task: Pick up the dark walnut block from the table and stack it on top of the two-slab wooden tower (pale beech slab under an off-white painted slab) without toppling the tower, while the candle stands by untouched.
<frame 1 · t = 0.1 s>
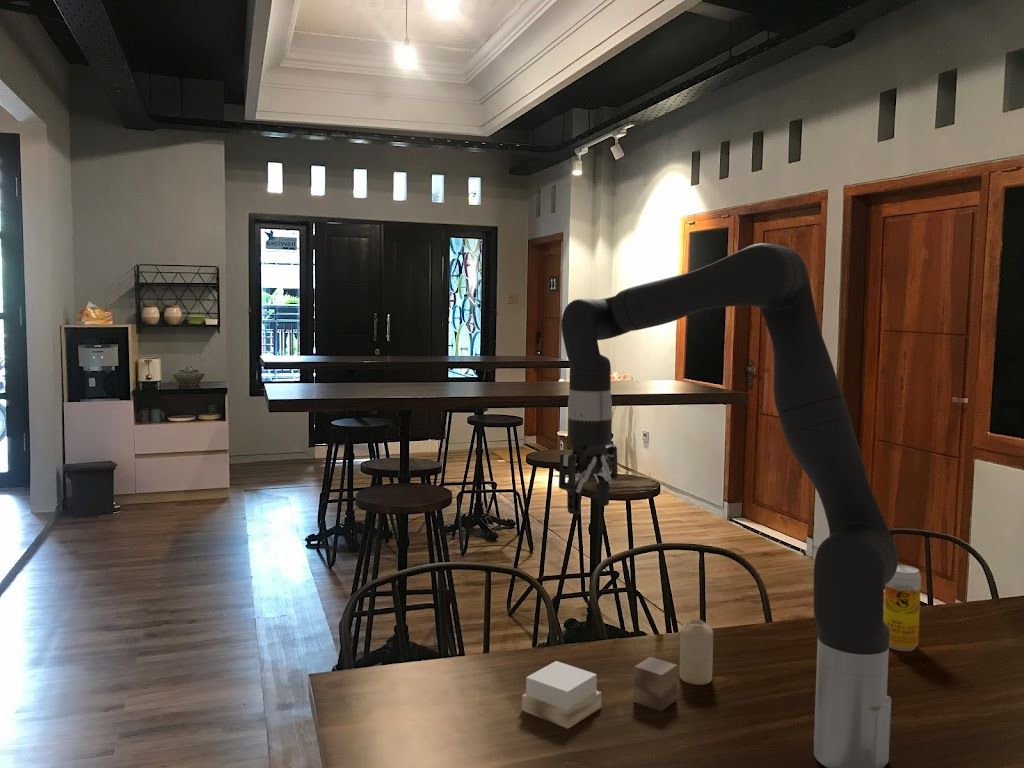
hand: (588, 509, 144), 29 cm above the table, tool pointing down, fingers open, 8 cm apart
walnut block: (655, 701, 135), on the table
slab upper: (561, 693, 132), point 2 cm above the table, touching slab lower
beer can: (900, 646, 158), on the table
slab lower: (561, 711, 133), on the table, touching slab upper
candle: (695, 679, 144), on the table
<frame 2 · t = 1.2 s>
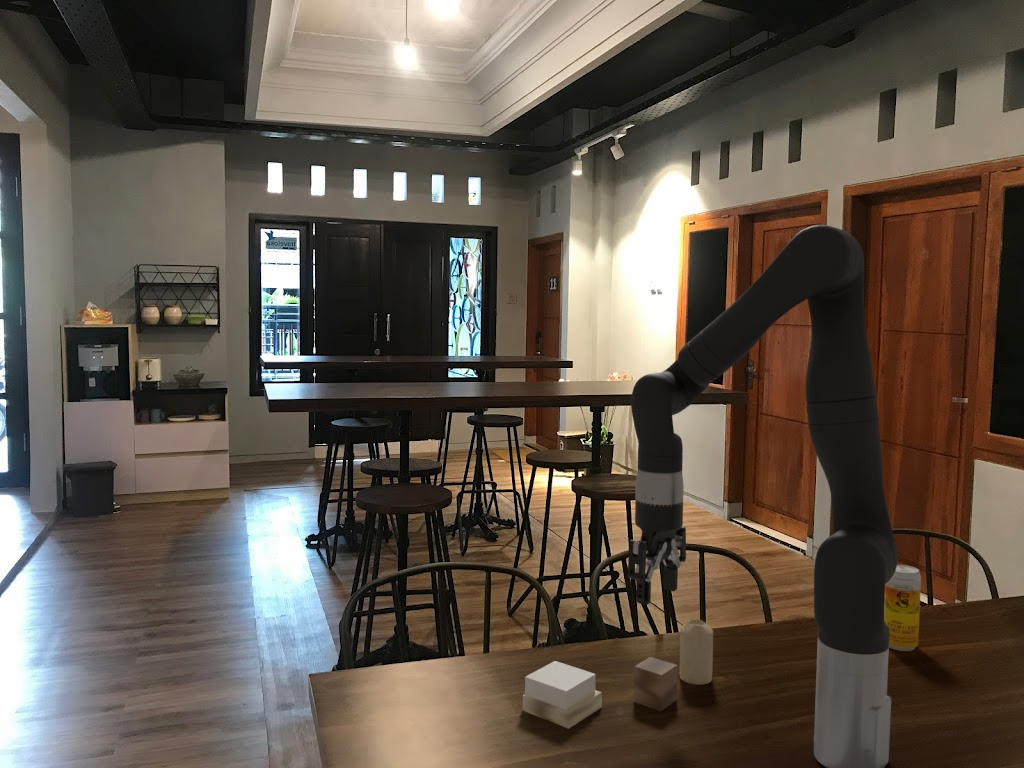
hand: (657, 596, 134), 17 cm above the table, tool pointing down, fingers open, 8 cm apart
nothing on the table moved.
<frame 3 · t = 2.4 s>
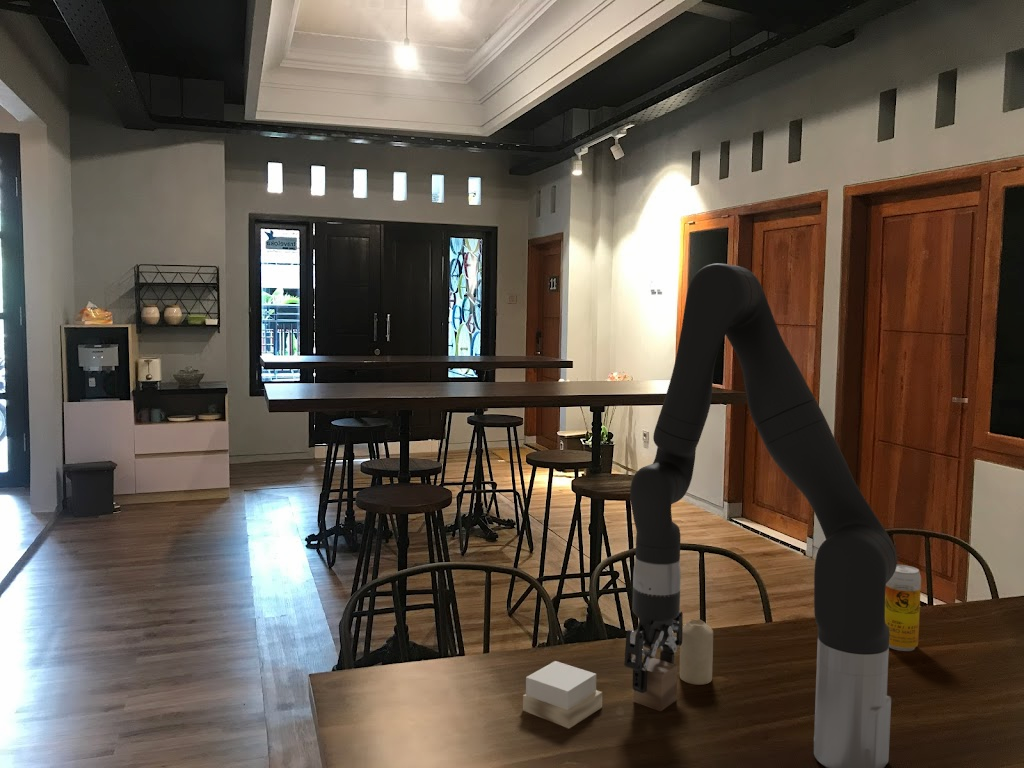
hand: (653, 682, 135), 3 cm above the table, tool pointing down, fingers open, 8 cm apart
nothing on the table moved.
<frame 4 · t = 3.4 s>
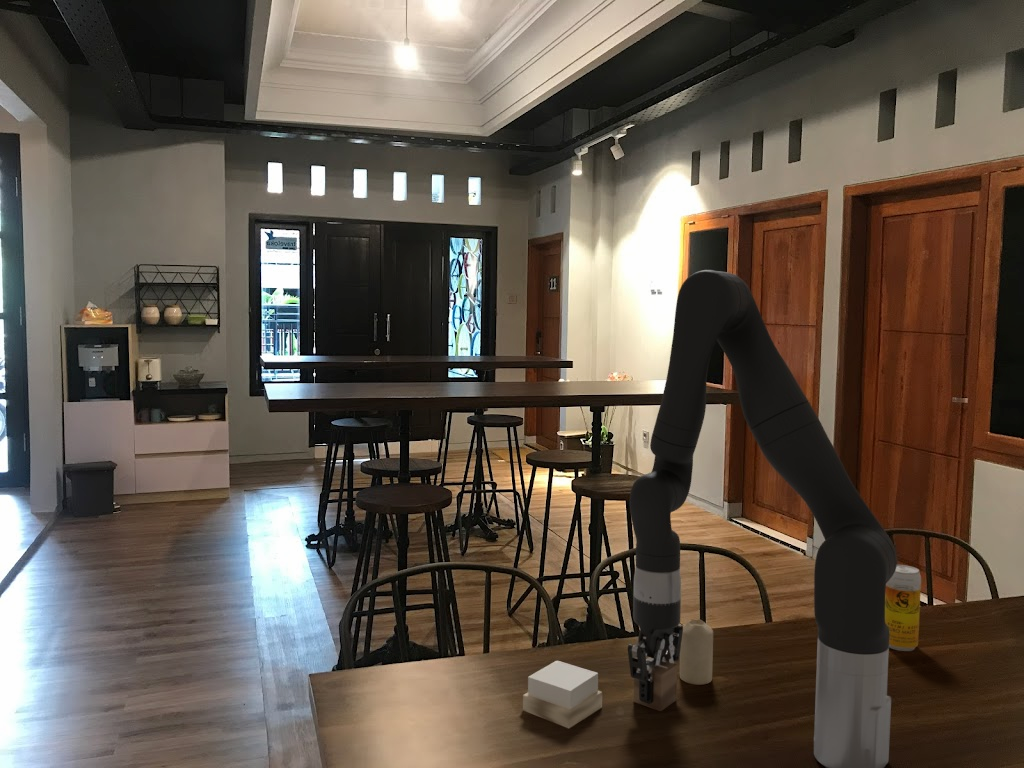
hand: (655, 695, 135), 1 cm above the table, tool pointing down, fingers closed on walnut block, 5 cm apart
walnut block: (655, 701, 135), on the table, touching gripper
everything else where it was.
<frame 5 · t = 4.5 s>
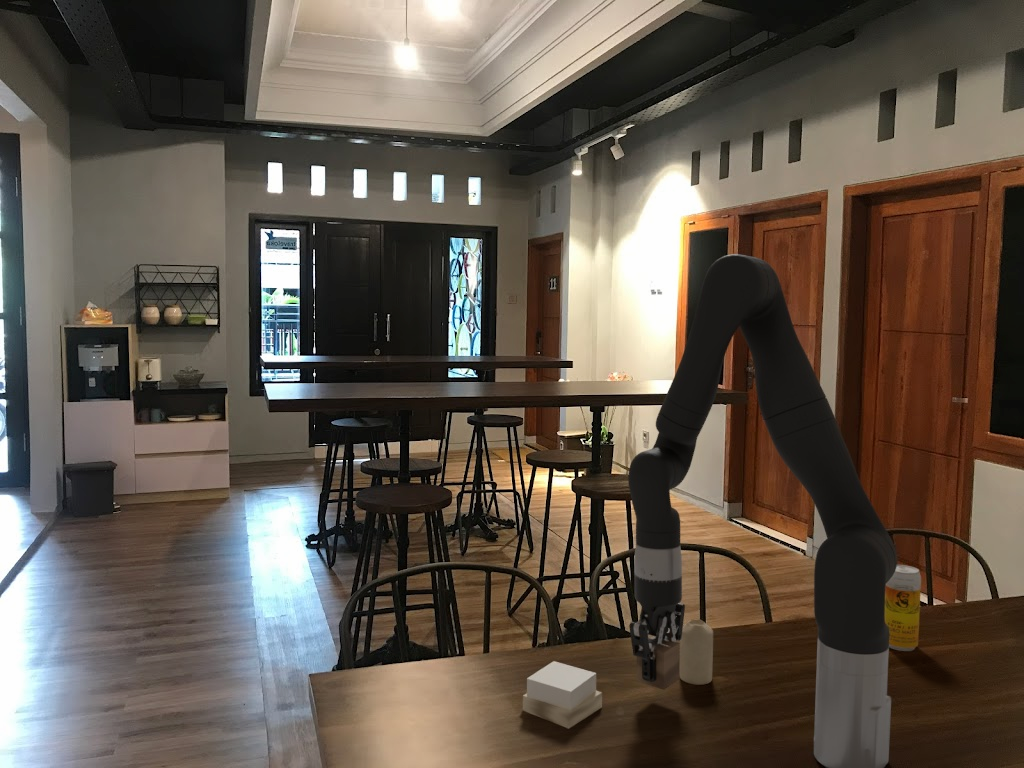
hand: (658, 674, 135), 5 cm above the table, tool pointing down, fingers closed on walnut block, 5 cm apart
walnut block: (658, 680, 135), point 4 cm above the table, touching gripper
everything else where it was.
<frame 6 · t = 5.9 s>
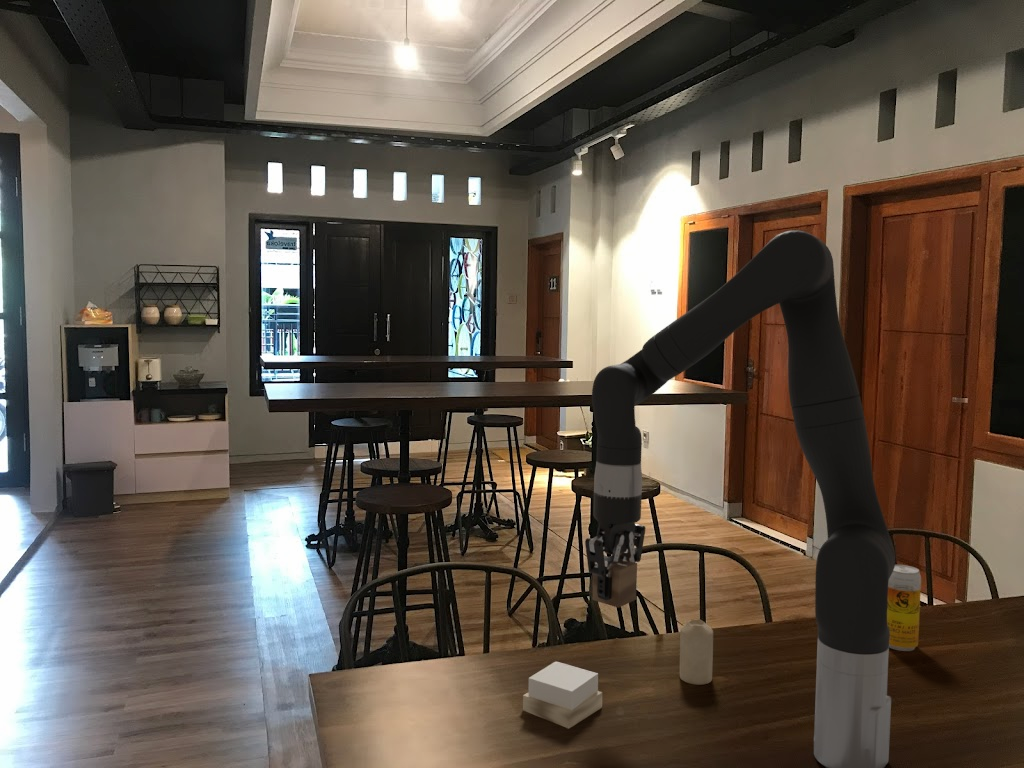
hand: (614, 593, 133), 18 cm above the table, tool pointing down, fingers closed on walnut block, 5 cm apart
walnut block: (614, 599, 133), point 17 cm above the table, touching gripper
everything else where it was.
when the fingers open (8 cm above the table, at t = 9.4 s): walnut block drops 1 cm, resting on slab upper.
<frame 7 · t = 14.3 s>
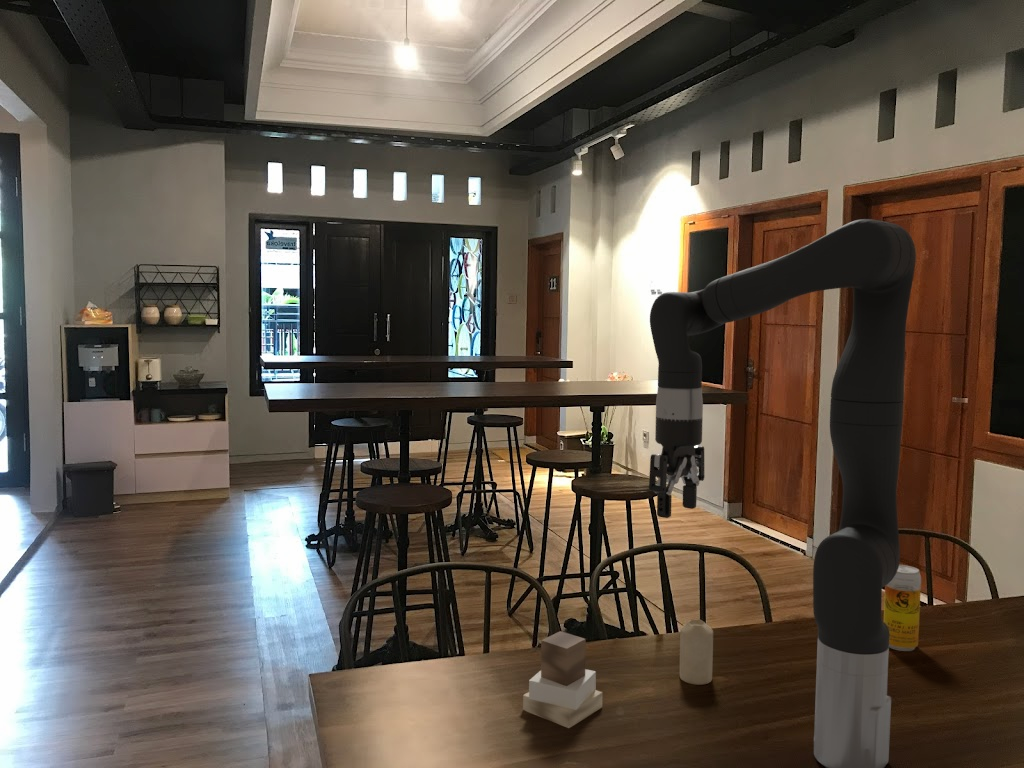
hand: (677, 512, 137), 30 cm above the table, tool pointing down, fingers open, 8 cm apart
walnut block: (563, 676, 132), point 5 cm above the table, touching slab upper
slab upper: (562, 694, 132), point 2 cm above the table, touching slab lower, walnut block
everything else where it was.
at the end: walnut block 0.2 cm off-centre on the slab lower, point 6.1 cm above the slab lower's base; walnut block tilted 2°; slab upper moved 0.6 cm from its start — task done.
